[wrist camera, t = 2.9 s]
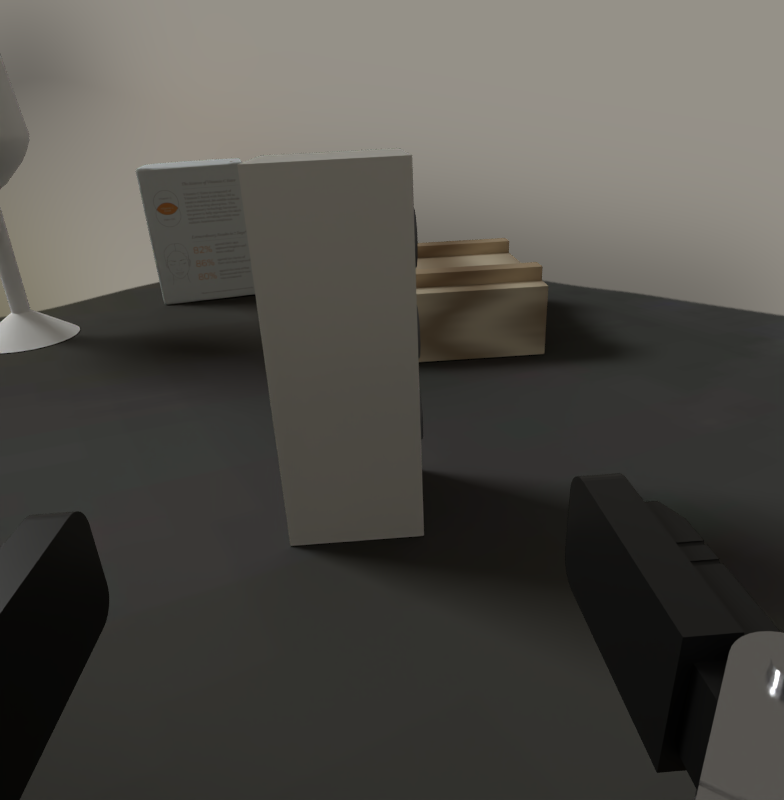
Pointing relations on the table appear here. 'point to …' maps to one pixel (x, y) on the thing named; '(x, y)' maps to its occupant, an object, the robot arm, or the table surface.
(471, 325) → the brown wooden ridged block
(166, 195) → the small box
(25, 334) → the champagne flute
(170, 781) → the table surface
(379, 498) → the tall grey box
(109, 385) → the table surface
